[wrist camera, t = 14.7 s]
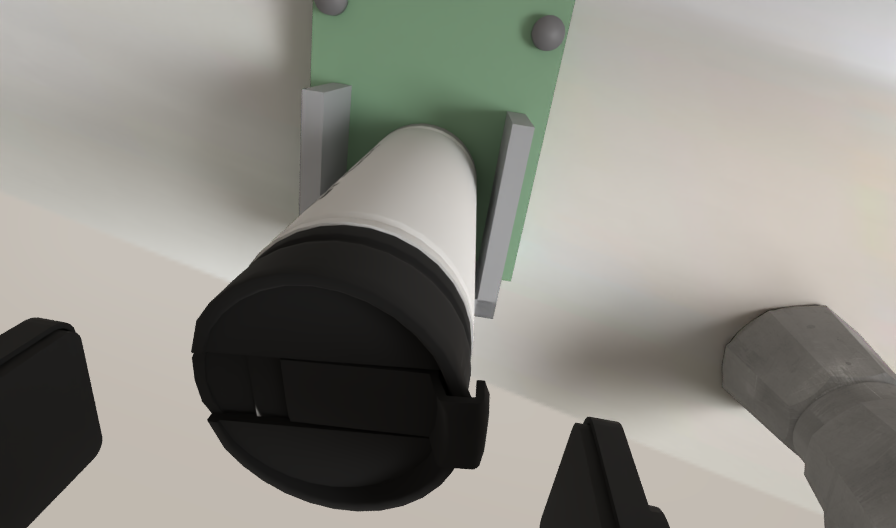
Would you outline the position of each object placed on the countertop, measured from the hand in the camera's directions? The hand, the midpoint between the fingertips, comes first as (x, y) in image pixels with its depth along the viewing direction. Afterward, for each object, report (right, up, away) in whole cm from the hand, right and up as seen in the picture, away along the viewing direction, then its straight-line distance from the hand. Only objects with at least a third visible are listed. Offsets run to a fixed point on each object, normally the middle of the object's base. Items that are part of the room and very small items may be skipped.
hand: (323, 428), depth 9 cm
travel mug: (+1, +8, +19) cm, 20 cm away
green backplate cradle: (+1, +11, +20) cm, 23 cm away
